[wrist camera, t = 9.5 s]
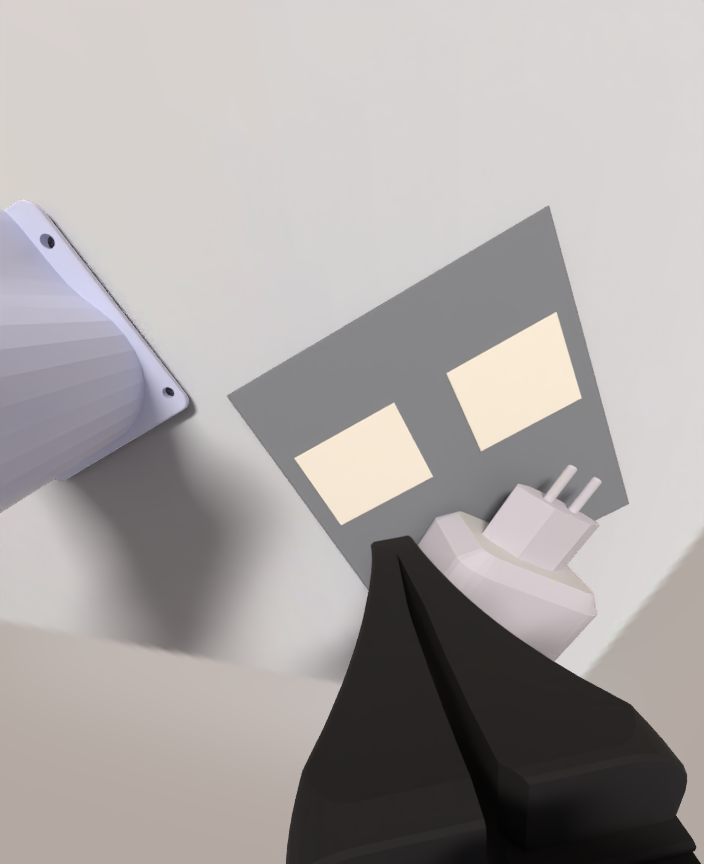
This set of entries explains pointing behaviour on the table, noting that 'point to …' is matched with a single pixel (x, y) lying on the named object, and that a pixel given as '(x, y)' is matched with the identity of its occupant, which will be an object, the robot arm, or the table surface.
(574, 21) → the table surface
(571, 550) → the charger
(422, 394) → the label mat
